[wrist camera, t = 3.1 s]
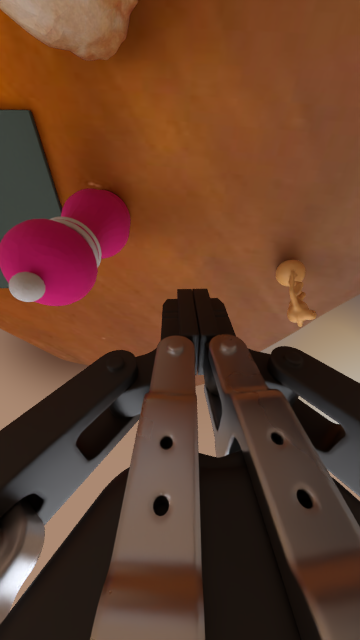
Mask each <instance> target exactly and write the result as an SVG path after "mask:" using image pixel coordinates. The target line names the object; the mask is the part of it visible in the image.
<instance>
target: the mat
mask: <svg viewBox="0 0 360 640" xmlns="http://www.w3.org/2000/svg"><path fill="white" fill-rule="evenodd" d="M61 213H62V208H61V204H60V201H59V198H58V195H57V192H56V188H55V185H54V182H53V179H52V176H51V172H50V169H49V166H48V163H47V160H46V157H45V153H44V150H43V147H42V144H41V141H40V137H39V134H38V131H37V128H36V125H35V121H34V118H33V115H32V112H31V111H30V110H0V242H1V240H2V239H3V237H4V235H5V234H6V233H7V232H8V231H9V230H10V229H11V228H13V227H14V226H16V225H18V224H20V223H22V222H24V221H26V220H31V219H51V218H54V217H61ZM0 288H9V283H8V282H7V280H6V278H5V277H4V275H3V273H2V271H1V268H0Z"/></svg>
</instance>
